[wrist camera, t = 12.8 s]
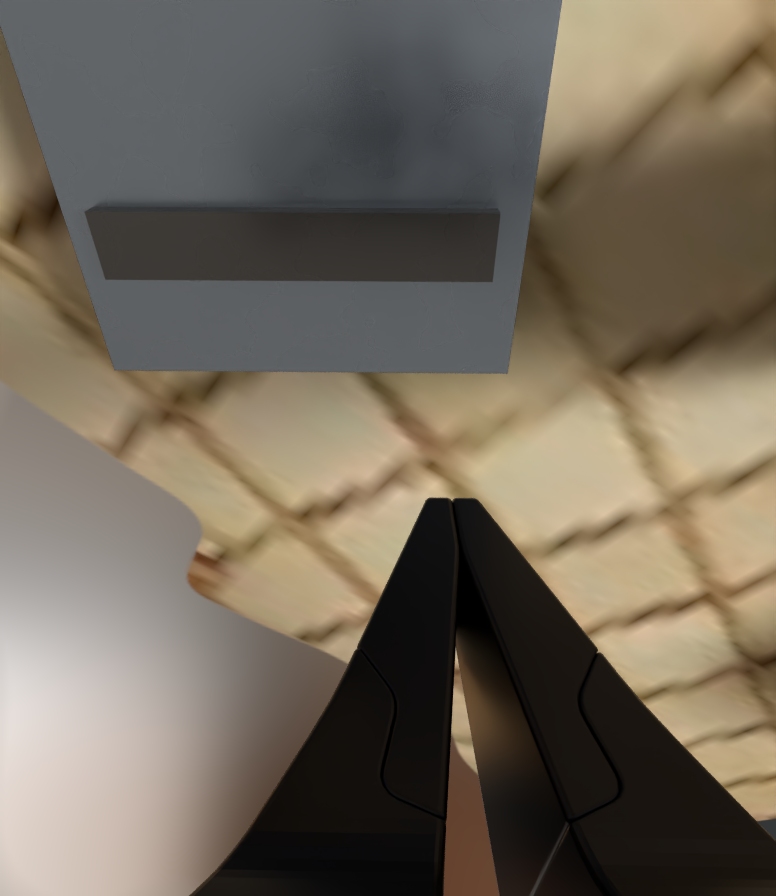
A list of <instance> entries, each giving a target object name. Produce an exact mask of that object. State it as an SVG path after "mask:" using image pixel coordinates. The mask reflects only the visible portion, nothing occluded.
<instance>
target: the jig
mask: <svg viewBox="0 0 776 896" xmlns="http://www.w3.org/2000/svg"><path fill="white" fill-rule="evenodd" d="M561 5H562V0H0V27H1V30H2V33H3V36H4V39H5V42H6V45H7V48H8V51H9V54H10V57H11V60H12V63H13V66H14V69H15V72H16V75H17V78H18V81H19V84H20V87H21V90H22V93H23V96H24V99H25V102H26V105H27V108H28V111H29V114H30V117H31V120H32V123H33V126H34V129H35V132H36V135H37V138H38V141H39V144H40V147H41V150H42V153H43V156H44V159H45V162H46V165H47V168H48V171H49V174H50V177H51V180H52V183H53V186H54V189H55V192H56V195H57V198H58V201H59V204H60V207H61V210H62V213H63V216H64V219H65V222H66V225H67V228H68V231H69V234H70V237H71V240H72V243H73V246H74V249H75V252H76V255H77V258H78V261H79V264H80V267H81V270H82V274H83V277H84V280H85V283H86V286H87V289H88V292H89V295H90V298H91V301H92V304H93V307H94V310H95V313H96V316H97V319H98V322H99V325H100V328H101V331H102V334H103V337H104V340H105V343H106V346H107V349H108V352H109V355H110V358H111V361H112V364H113V367H114V370H142V371H262V372H383V373H503V374H507V373H508V366H509V359H510V353H511V346H512V339H513V332H514V325H515V319H516V312H517V305H518V298H519V291H520V284H521V278H522V271H523V264H524V257H525V250H526V243H527V237H528V230H529V223H530V216H531V209H532V203H533V196H534V189H535V182H536V175H537V168H538V162H539V155H540V148H541V141H542V134H543V127H544V121H545V114H546V107H547V100H548V93H549V87H550V80H551V73H552V66H553V59H554V52H555V46H556V39H557V32H558V25H559V18H560V11H561Z"/></svg>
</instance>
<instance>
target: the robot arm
mask: <svg viewBox="0 0 776 896" xmlns="http://www.w3.org/2000/svg"><path fill="white" fill-rule="evenodd" d="M455 648H456V651H457V656H458V662H459V668H460V673H461V679H462V685H463V690H464V696H465V702H466V707H467V713H468V719H469V724H470V730H471V736H472V742H473V747H474V753H475V759H476V764H477V770H478V776H479V781H480V787H481V793H482V798H483V804H484V810H485V815H486V821H487V827H488V832H489V838H490V844H491V849H492V855H493V861H494V866H495V872H496V878H497V884H498V889H499V895H500V896H776V840H775V839H774V838H773V837H772V836H771V835H770V834H769V833H768V832H767V831H766V830H765V829H764V828H763V827H762V826H761V825H760V824H759V823H758V822H757V821H756V820H755V819H754V818H753V817H752V816H751V815H750V814H749V813H748V812H747V811H746V810H745V809H744V808H743V807H742V806H741V805H740V804H739V803H738V802H737V801H736V800H735V799H734V798H733V797H732V795H731V794H730V793H729V792H728V791H727V790H726V789H725V788H724V787H723V786H722V785H721V784H720V783H719V782H718V781H717V780H716V779H715V778H714V777H713V776H712V775H711V774H710V773H709V772H708V771H707V770H706V769H705V768H704V767H703V766H702V765H701V764H700V763H699V762H698V761H697V760H696V759H695V757H694V756H693V755H692V754H691V753H690V752H689V751H688V750H687V749H686V748H685V747H684V746H683V745H682V744H681V743H680V742H679V741H678V740H677V739H676V738H675V737H674V736H673V735H672V734H671V733H670V732H669V730H668V729H667V728H666V727H665V726H664V725H663V724H662V723H661V722H660V721H659V720H658V719H657V718H656V717H655V715H654V714H653V713H652V712H651V711H650V710H649V709H648V708H647V707H646V706H645V705H644V704H643V702H642V701H641V700H640V699H639V698H638V696H637V695H636V694H635V693H634V692H633V691H632V689H631V688H630V687H629V686H628V685H627V684H626V682H625V681H624V680H623V679H622V678H621V676H620V675H619V674H618V673H617V672H616V670H615V669H614V668H613V667H612V665H611V664H610V663H609V662H608V660H607V659H606V658H605V657H604V655H603V654H602V653H597V652H598V649H597V647H596V646H595V645H594V643H593V642H592V641H591V640H590V638H589V637H588V636H587V635H586V633H585V632H584V631H583V630H582V628H581V627H580V626H579V625H578V623H577V622H576V621H575V620H574V618H573V617H572V616H571V615H570V613H569V612H568V611H567V610H566V608H565V607H564V606H563V605H562V604H561V602H560V601H559V600H558V599H557V597H556V596H555V595H554V594H553V592H552V591H551V590H550V589H549V587H548V586H547V585H546V584H545V582H544V581H543V580H542V579H541V577H540V576H539V575H538V574H537V572H536V571H535V570H534V569H533V567H532V566H531V565H530V564H529V563H528V561H527V560H526V559H525V558H524V556H523V555H522V554H521V553H520V551H519V550H518V549H517V548H516V546H515V545H514V544H513V543H512V541H511V540H510V539H509V538H508V536H507V535H506V534H505V533H504V531H503V530H502V529H501V528H500V526H499V525H498V524H497V523H496V522H495V520H494V519H493V518H492V517H491V515H490V514H489V513H488V512H487V510H486V509H485V508H484V507H483V505H482V504H481V503H480V502H479V501H478V500H477V499H475V498H455V499H453V501H451V499H449V498H428V499H427V500H426V501H425V503H424V505H423V507H422V510H421V512H420V514H419V516H418V518H417V520H416V522H415V524H414V527H413V529H412V531H411V533H410V535H409V537H408V539H407V541H406V544H405V546H404V548H403V550H402V552H401V554H400V556H399V558H398V561H397V563H396V565H395V567H394V569H393V571H392V573H391V575H390V578H389V580H388V582H387V584H386V586H385V588H384V590H383V592H382V595H381V597H380V599H379V601H378V603H377V605H376V607H375V609H374V612H373V614H372V616H371V618H370V620H369V622H368V624H367V626H366V629H365V631H364V633H363V635H362V637H361V639H360V641H359V643H358V646H357V649H356V650H355V651H354V653H353V655H352V658H351V660H350V662H349V664H348V666H347V668H346V670H345V672H344V674H343V676H342V678H341V680H340V682H339V684H338V686H337V688H336V690H335V692H334V694H333V696H332V697H331V699H330V701H329V703H328V705H327V706H326V708H325V710H324V711H323V713H322V715H321V716H320V718H319V720H318V721H317V723H316V725H315V726H314V728H313V730H312V731H311V733H310V735H309V736H308V738H307V739H306V741H305V742H304V744H303V745H302V747H301V748H300V750H299V752H298V753H297V755H296V756H295V758H294V759H293V761H292V763H291V764H290V766H289V767H288V769H287V770H286V772H285V773H284V775H283V776H282V778H281V780H280V781H279V783H278V784H277V786H276V787H275V789H274V790H273V792H272V794H271V795H270V797H269V798H268V800H267V801H266V803H265V804H264V806H263V807H262V809H261V810H260V812H259V814H258V815H257V817H256V818H255V820H254V821H253V823H252V824H251V825H250V827H249V828H248V830H247V831H246V833H245V834H244V835H243V837H242V838H241V840H240V841H239V842H238V844H237V845H236V846H235V848H234V849H233V850H232V851H231V853H230V854H229V855H228V856H227V858H226V859H225V860H224V861H223V862H222V863H221V865H220V866H219V867H218V868H217V869H216V870H215V871H214V872H213V873H212V874H211V875H210V876H209V877H208V878H207V879H206V880H205V881H204V882H203V883H202V884H201V885H200V886H199V887H198V888H197V889H196V890H195V891H194V892H193V893H192V894H190V895H189V896H443V894H444V893H443V892H444V861H445V838H446V837H445V836H446V818H447V800H448V781H449V762H450V742H451V724H452V705H453V686H454V667H455Z"/></svg>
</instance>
